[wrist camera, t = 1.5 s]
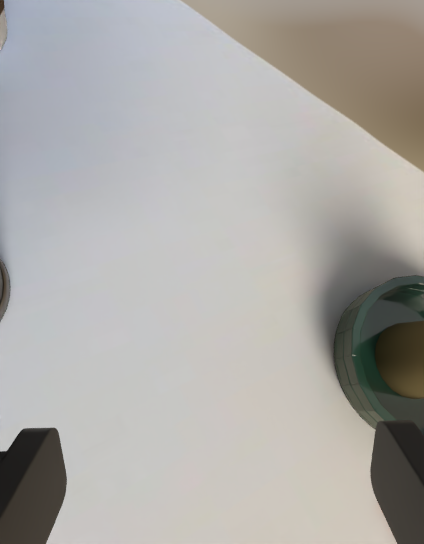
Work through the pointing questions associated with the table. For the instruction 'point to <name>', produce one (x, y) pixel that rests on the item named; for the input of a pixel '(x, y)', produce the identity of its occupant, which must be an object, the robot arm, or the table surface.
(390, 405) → the dish
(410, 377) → the cork
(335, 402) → the table surface
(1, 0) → the coffee cup
